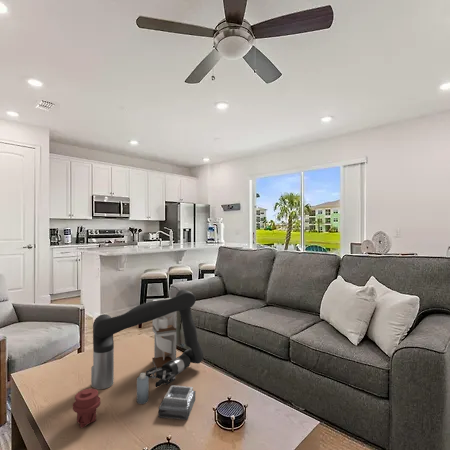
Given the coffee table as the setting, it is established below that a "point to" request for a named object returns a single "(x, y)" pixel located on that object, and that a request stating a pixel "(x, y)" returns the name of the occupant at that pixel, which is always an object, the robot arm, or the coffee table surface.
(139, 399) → the pale blue squeeze bottle
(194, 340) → the robot arm
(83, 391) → the mechanical component
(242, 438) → the coffee table surface
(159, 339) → the white shelf unit
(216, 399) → the coffee table surface
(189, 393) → the square grey open box
